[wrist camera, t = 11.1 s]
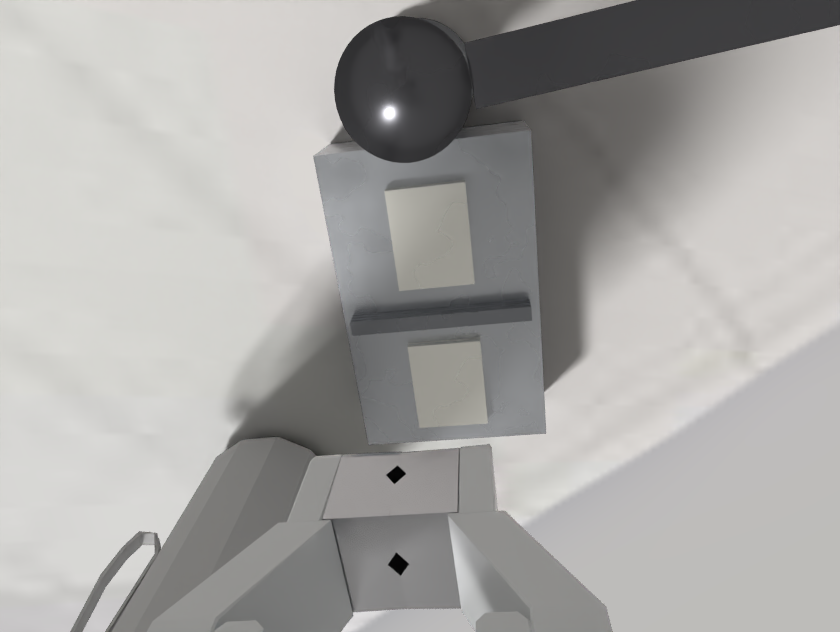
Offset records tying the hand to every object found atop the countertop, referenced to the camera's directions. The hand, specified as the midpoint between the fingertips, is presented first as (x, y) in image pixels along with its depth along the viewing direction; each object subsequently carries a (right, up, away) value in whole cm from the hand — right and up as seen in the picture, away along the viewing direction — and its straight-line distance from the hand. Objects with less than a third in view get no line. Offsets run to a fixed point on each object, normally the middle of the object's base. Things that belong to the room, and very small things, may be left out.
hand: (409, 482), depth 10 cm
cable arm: (+7, +12, +9) cm, 16 cm away
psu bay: (+1, +4, +17) cm, 18 cm away
